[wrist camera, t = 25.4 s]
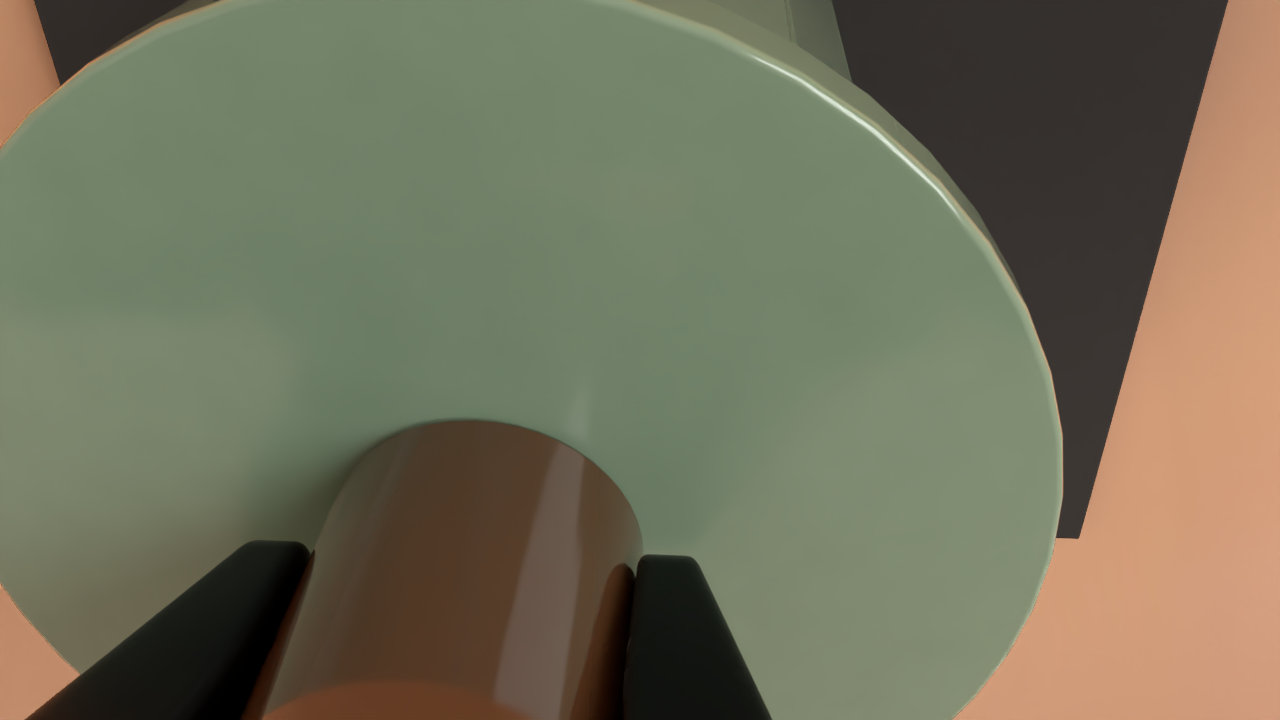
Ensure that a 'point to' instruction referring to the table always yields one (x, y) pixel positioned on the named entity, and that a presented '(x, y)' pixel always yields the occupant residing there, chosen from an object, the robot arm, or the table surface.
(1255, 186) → the table surface
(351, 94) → the lid
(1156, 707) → the table surface
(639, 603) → the robot arm
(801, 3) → the canister
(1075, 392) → the mat
